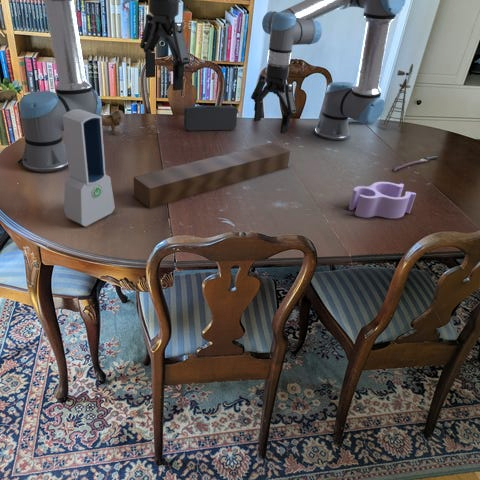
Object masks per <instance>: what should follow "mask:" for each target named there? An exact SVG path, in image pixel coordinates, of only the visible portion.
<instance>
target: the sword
mask: <svg viewBox="0 0 480 480" xmlns="http://www.w3.org/2000/svg"><path fill="white" fill-rule="evenodd" d="M440 158H441V157H440V155H433V156H430V157H423V158H421V159H418V160H414V161H410V162H407V163H403V164H401V165H398V166H395V167H394V168H393V172H397V171H398V170H400V169H403V168H405V167H408V166H413V165H415V164H420V163H423V162H429V161H430V160H434V159H440Z"/></svg>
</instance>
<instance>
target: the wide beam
mask: <svg viewBox="0 0 480 480" xmlns="http://www.w3.org/2000/svg"><path fill="white" fill-rule="evenodd" d="M290 156H291V150H289V149H288V148H285V147H283V146H281V145H279V144H277V143H275V142H270V143H266V144H262V145H258V146H254V147H250V148H245V149H242V150H237V151H234V152H230V153H225V154H220V155H216V156H213V157H212V156H211V157H209V158H205V159H201V160H196V161H191V162H188V163H183V164H180V165H176V166H172V167H168V168H163V169H159V170H155V171H152V172H146V173H143V174H139V175H136V176H133V196H134V197H135V198H136V199H137V200H138V201H140V202H141V203H142V204H143V205H145V207H147V208H149V209H152V208H156V207H159V206H162V205H166V204H169V203H173V202H175V201H176V202H177V201H180V200H182V199H186V198H189V197H193V196H197V195H199V194H203V193H206V192H210V191H213V190H216V189H220V188H223V187H227V186H230V185H234V184H237V183H240V182H244V181H248V180H250V179H255V178H257V177H260V176H265V175H268V174H270V173H274V172H277V171H281V170H284V169H287V168H289V163H290V162H289V161H290Z"/></svg>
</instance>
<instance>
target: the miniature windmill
mask: <svg viewBox="0 0 480 480" xmlns="http://www.w3.org/2000/svg"><path fill="white" fill-rule="evenodd" d="M413 68H414V64H413V63H411V65H410V67H409V70H408V72H405V71H403V70H398V71H397V74H396V76H405V79H404V80H403V83H399V85H398V86H399V90H398V92H397V95H396V97H395V98H394V101H393V103H392V105H391V107H390V108H389V111H388V113H387V115H386V116H385V120H384V121H383V125H385V126H384V130H386V129H387V127H388V125H389V123H392V124H393V123H394V124H399V125H398V126H399V127H400V132H402V131H403V125H404V113H405V105H406V104H405V103H406V94H407V89H408V88H409V89H410V88H411V85H409V83H410V80H411V77H412V74H413ZM403 89H404V90H403ZM401 94H403V97H402V98H400V96H401ZM397 103H402V104H401V107H396V105H397ZM395 109H397V110H395ZM394 112H397V113H400V117H393V113H394ZM391 119H395V120H399V122H397V121H392V120H391ZM401 129H402V130H401Z"/></svg>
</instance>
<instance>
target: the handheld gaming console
mask: <svg viewBox="0 0 480 480" xmlns="http://www.w3.org/2000/svg"><path fill="white" fill-rule="evenodd" d="M238 111H239V110H238V107H236V106H235V105H191V106H189V105H188V106H185V108H184V114H183V115H184V117H183V119H184V121H183V122H184V123H183V127H184V129H185V130H186V131H190V132H192V131H193V132H194V131H229V130H230V131H231V130H235V129H236V128H237V123H238V122H237V119H238Z"/></svg>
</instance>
